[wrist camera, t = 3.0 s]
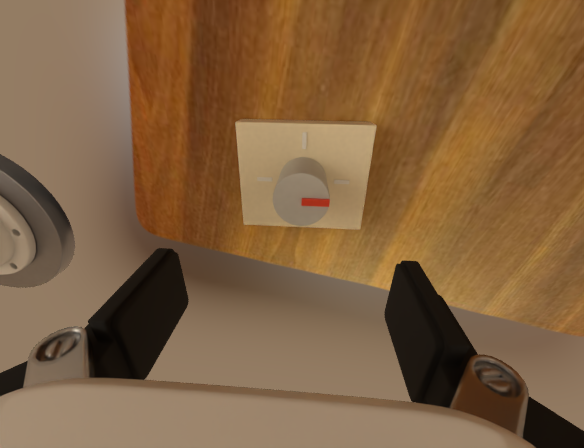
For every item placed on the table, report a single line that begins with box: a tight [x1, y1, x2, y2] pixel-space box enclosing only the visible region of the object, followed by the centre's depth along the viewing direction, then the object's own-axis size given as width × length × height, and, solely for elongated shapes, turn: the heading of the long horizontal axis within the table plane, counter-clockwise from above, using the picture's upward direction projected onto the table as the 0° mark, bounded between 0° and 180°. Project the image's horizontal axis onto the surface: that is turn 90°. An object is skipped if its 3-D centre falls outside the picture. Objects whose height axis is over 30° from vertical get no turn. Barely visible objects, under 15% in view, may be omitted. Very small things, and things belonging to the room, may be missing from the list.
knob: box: [273, 157, 330, 226], centre depth 22 cm, size 4×4×5 cm
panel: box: [235, 119, 376, 230], centre depth 25 cm, size 12×10×3 cm
